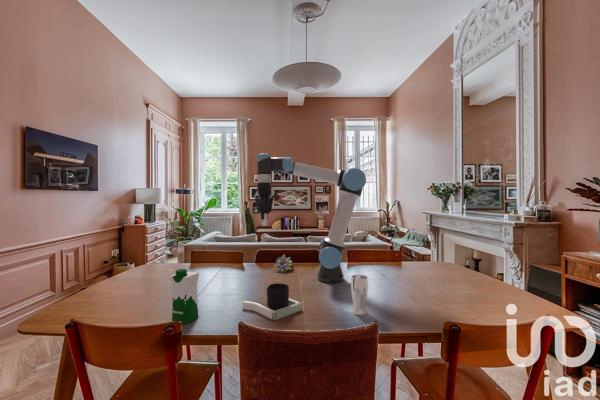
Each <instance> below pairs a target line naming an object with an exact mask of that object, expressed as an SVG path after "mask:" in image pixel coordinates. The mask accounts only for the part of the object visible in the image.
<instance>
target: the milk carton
mask: <svg viewBox="0 0 600 400" xmlns="http://www.w3.org/2000/svg"><path fill="white" fill-rule="evenodd" d="M199 275H200V272H196V271H195V272H193V271H188V269H187V268H186V269H185V268H181V269H176V270H175V274H171V275H170V276H169V278H170V281H171V287H172V288H171V289H172V290H171V292H172V295H171V296H172V313H171V322H172V321H181V322H182V323H181V324H183V325H188V324H190V323H191V322H193V321H195V320H196V319H198V318H200V317H199V309H198V282H199V277H200V276H199Z"/></svg>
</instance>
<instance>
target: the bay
mask: <svg viewBox="0 0 600 400" xmlns="http://www.w3.org/2000/svg"><path fill="white" fill-rule="evenodd" d="M302 303H303V302H300V301H297V300H295V299H292V298H290V297H289V300H288V306H287V307H284V308H281V309H278V310H275V311H274V310H272V309H270V308H268V306H265V305H263V304H261V303H258V302H254V301H248V300H244V301H242V309H243V310H248V311H253V312H256V313H258V314H259V315H262V316H264V317H265V318H268V319H270V320H273V321H277V320H279V319H282V318H284V317H287V316H290V315H292V314H296V313H298V312H301V311H302V310H303V304H302Z"/></svg>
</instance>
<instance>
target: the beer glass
mask: <svg viewBox="0 0 600 400" xmlns="http://www.w3.org/2000/svg"><path fill="white" fill-rule="evenodd" d="M368 281H369V280H368V276H367V275H363V274H353V275H351V280H350V293H351V298H352V299H351V300H352V309H351V313H352V314H353V315H354V316H355V315H356V316H362V317H363V316H366V315H367V314H368V311H367V299H368V294H369V293H368V292H369V282H368Z"/></svg>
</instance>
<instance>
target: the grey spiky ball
mask: <svg viewBox="0 0 600 400" xmlns="http://www.w3.org/2000/svg"><path fill="white" fill-rule="evenodd" d="M273 267H275V268H276V267H277V270H278V271H280V273H282V272H284V270H286V271H288V268H289V267H290V269H291V270H292V271H294V269H295V266H294V264H293V260H291V257H290V256H289V257H286V255H285V254H283V255H281V256H280V257H277V258H276V260H275V264H274V265H273Z"/></svg>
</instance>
